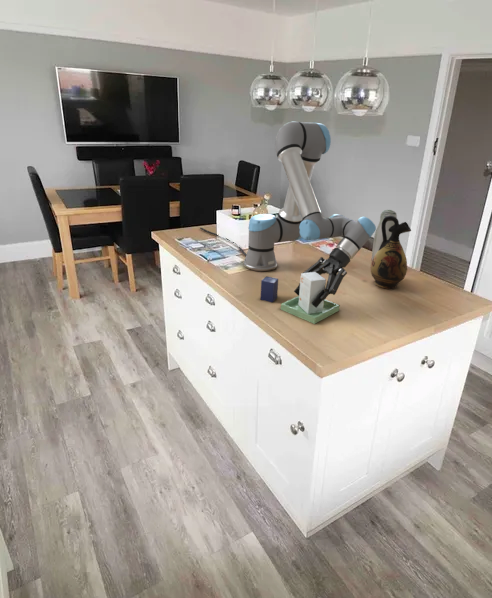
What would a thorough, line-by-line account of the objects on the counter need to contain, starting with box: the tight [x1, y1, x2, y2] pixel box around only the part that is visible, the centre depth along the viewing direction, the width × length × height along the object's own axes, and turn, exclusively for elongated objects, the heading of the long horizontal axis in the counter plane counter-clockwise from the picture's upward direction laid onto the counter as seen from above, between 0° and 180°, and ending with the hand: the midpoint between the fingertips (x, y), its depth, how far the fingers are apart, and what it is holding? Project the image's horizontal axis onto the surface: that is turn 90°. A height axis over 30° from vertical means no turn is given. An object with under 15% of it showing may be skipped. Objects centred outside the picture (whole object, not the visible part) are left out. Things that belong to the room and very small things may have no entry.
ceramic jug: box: [369, 216, 412, 290], centre depth 177 cm, size 17×15×30 cm
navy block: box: [260, 276, 279, 303], centre depth 160 cm, size 5×5×8 cm
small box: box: [298, 272, 327, 314], centre depth 152 cm, size 8×6×13 cm
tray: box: [280, 295, 340, 325], centre depth 154 cm, size 16×16×2 cm
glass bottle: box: [371, 209, 398, 261], centre depth 198 cm, size 10×10×28 cm
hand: (304, 299), depth 151 cm, fingers open, 11 cm apart
